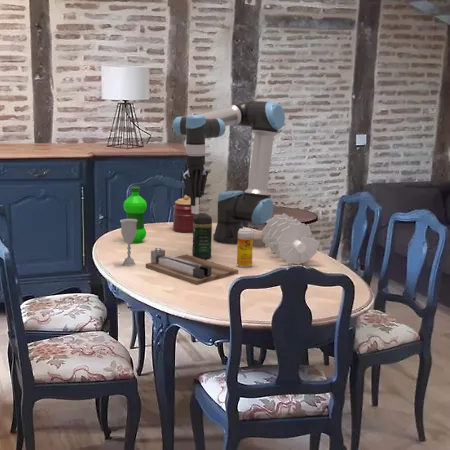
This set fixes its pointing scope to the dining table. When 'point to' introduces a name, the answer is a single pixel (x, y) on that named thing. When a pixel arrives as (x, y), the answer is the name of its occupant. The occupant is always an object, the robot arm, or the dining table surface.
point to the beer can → (244, 247)
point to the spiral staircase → (289, 239)
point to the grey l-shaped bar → (174, 264)
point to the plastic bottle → (136, 212)
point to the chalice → (128, 237)
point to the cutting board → (216, 273)
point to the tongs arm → (191, 264)
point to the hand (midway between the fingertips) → (195, 213)
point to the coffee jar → (202, 236)
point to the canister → (183, 215)
